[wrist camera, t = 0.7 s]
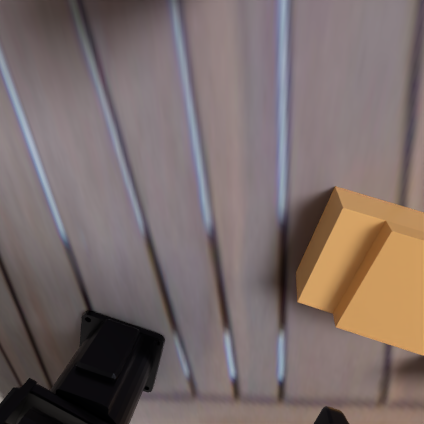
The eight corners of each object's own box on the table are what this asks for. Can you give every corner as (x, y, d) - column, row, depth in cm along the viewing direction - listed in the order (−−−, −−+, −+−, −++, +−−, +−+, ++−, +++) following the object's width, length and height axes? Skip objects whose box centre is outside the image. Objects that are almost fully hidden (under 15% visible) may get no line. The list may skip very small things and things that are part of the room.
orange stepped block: (406, 305, 20) (431, 358, 17) (295, 270, 21) (298, 315, 17) (463, 223, 18) (508, 266, 14) (334, 184, 18) (346, 217, 14)
